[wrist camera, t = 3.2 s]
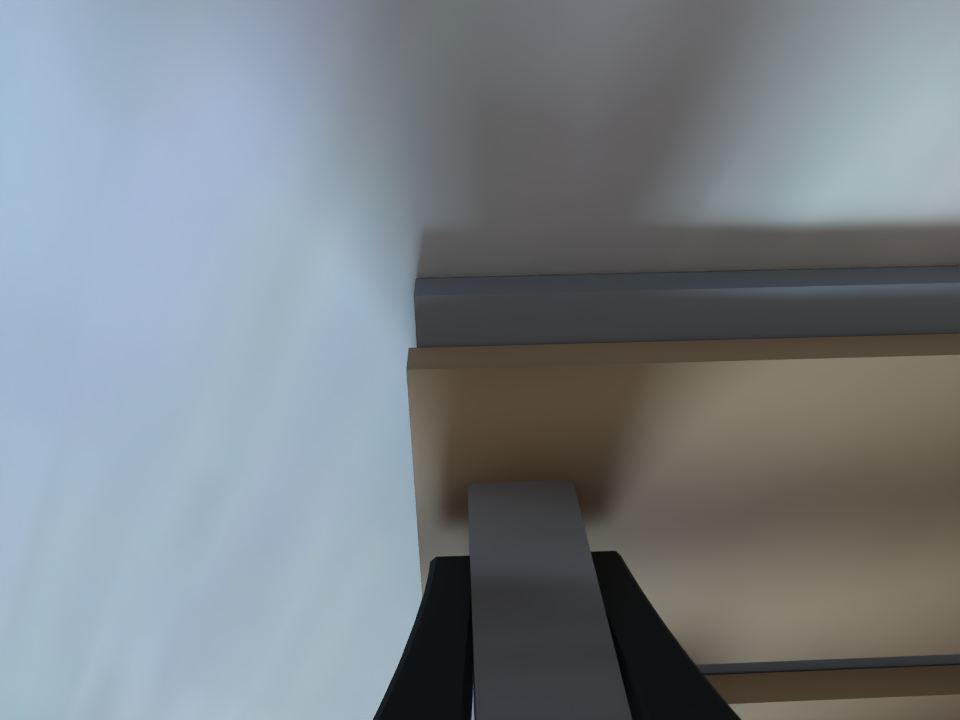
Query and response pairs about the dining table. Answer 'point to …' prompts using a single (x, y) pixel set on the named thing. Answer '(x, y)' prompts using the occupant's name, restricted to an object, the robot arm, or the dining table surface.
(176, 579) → the dining table surface
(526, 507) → the strip
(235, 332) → the dining table surface
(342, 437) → the dining table surface
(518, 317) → the lane board
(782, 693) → the strip
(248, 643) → the dining table surface
